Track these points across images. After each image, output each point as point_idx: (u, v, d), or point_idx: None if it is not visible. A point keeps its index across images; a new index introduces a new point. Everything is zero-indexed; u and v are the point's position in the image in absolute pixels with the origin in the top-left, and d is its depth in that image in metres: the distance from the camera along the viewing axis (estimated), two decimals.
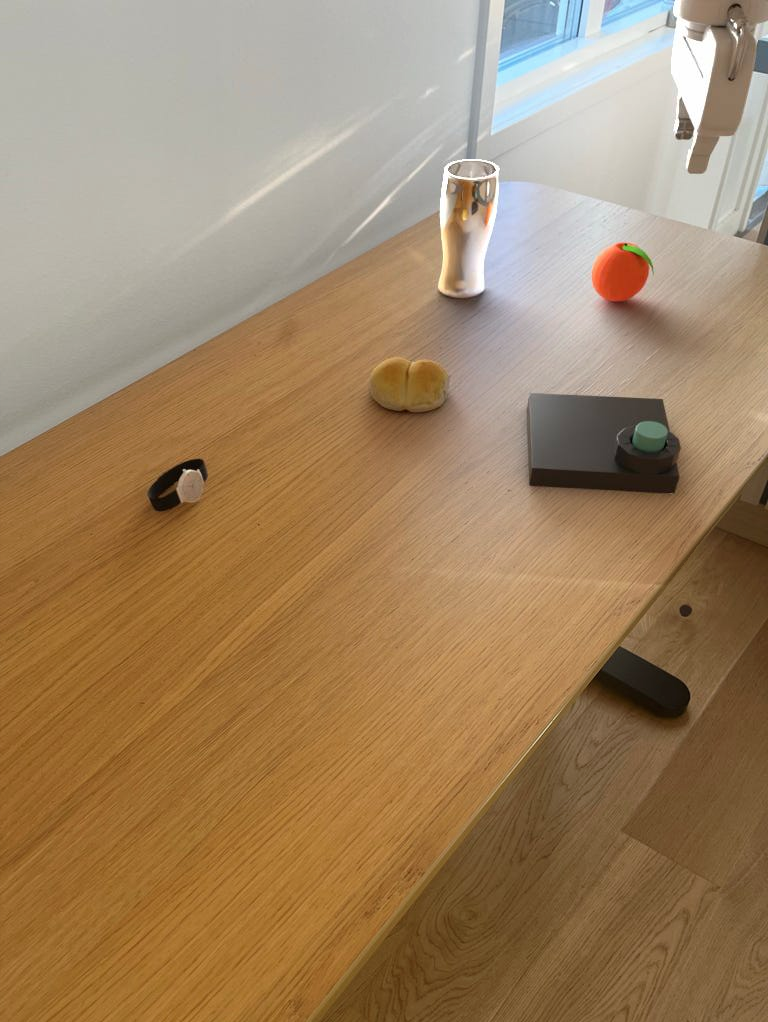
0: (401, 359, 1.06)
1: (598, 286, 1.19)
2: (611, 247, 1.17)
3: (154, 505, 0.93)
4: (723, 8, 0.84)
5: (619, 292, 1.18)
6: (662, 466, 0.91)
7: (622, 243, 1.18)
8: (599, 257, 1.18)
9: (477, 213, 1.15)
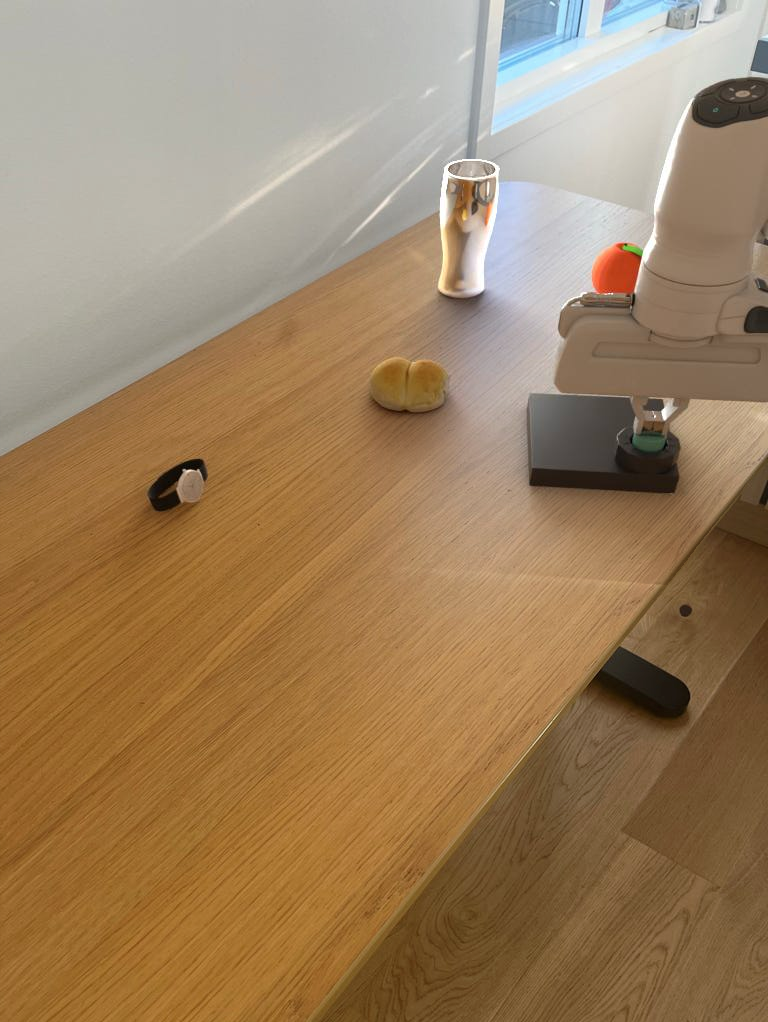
0: (401, 359, 1.06)
1: (598, 286, 1.19)
2: (611, 247, 1.17)
3: (154, 505, 0.93)
4: (634, 292, 0.83)
5: (619, 292, 1.18)
6: (662, 466, 0.91)
7: (622, 243, 1.18)
8: (599, 257, 1.18)
9: (477, 213, 1.15)
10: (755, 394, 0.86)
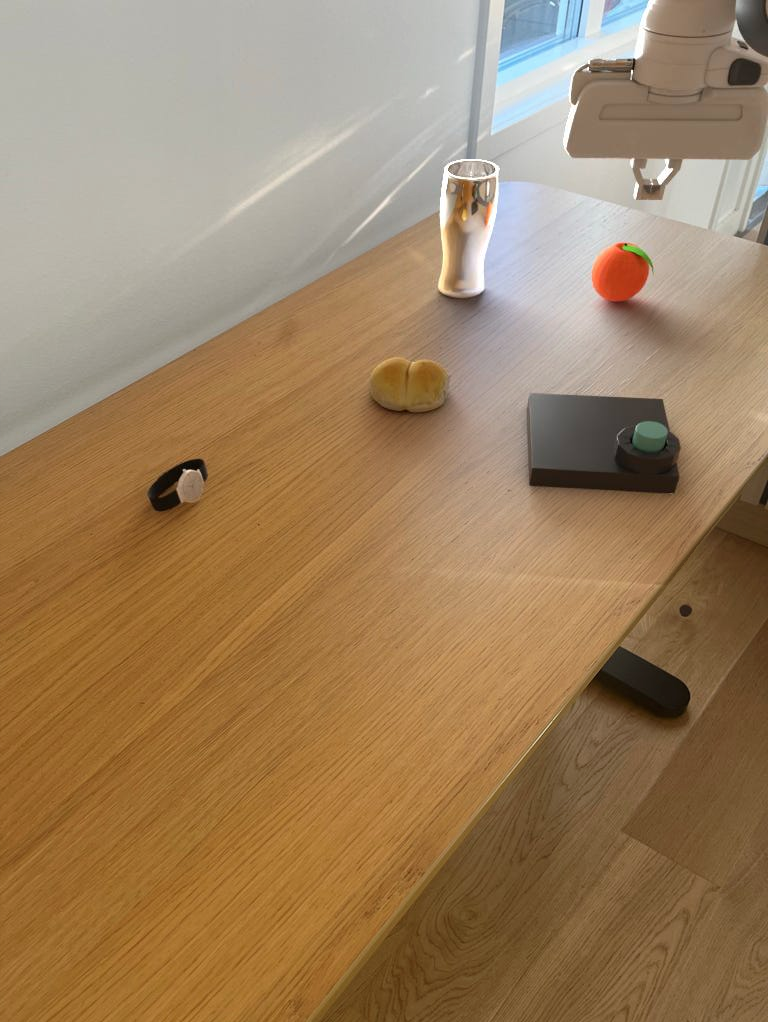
0: (401, 359, 1.06)
1: (598, 286, 1.19)
2: (611, 247, 1.17)
3: (154, 505, 0.93)
4: None
5: (619, 292, 1.18)
6: (662, 466, 0.91)
7: (622, 243, 1.18)
8: (599, 257, 1.18)
9: (477, 213, 1.15)
10: (738, 151, 1.00)
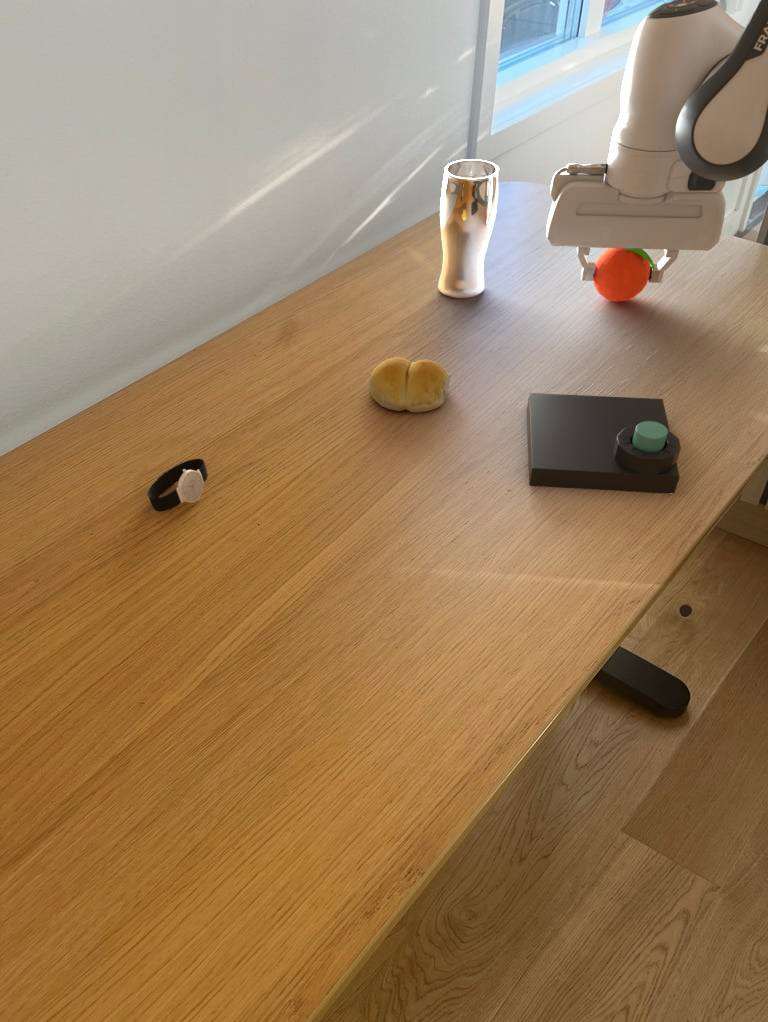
0: (401, 359, 1.06)
1: (599, 286, 1.19)
2: None
3: (154, 505, 0.93)
4: None
5: (621, 292, 1.18)
6: (662, 466, 0.91)
7: None
8: (601, 257, 1.18)
9: (477, 213, 1.15)
10: (699, 243, 1.13)
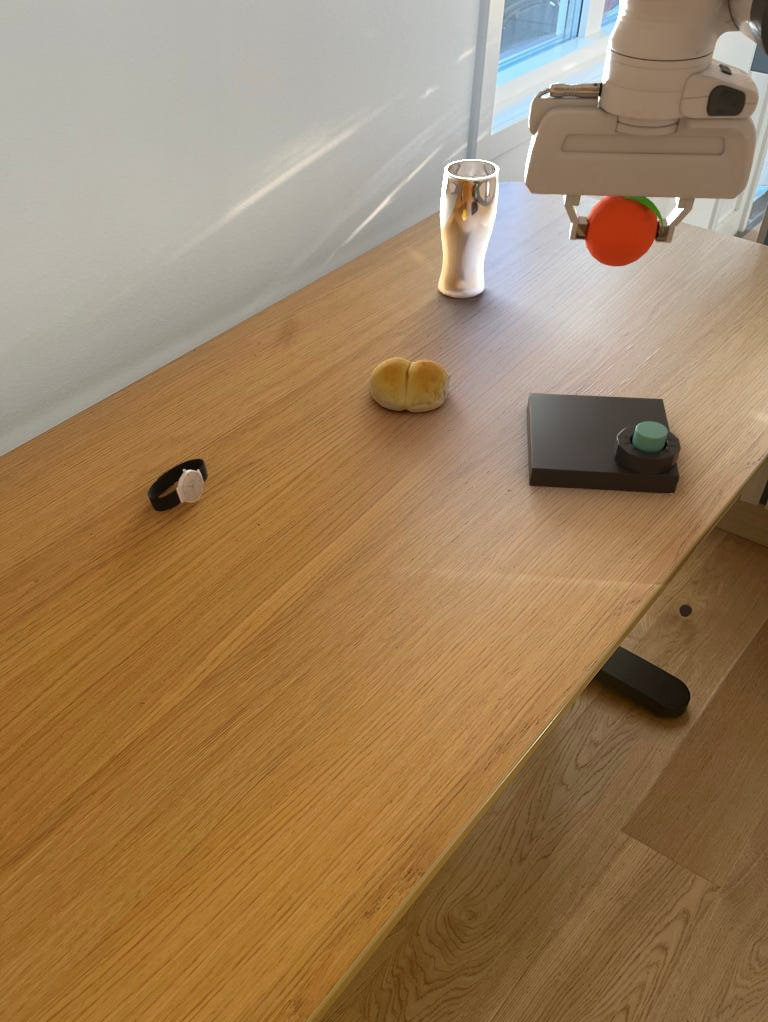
0: (401, 359, 1.06)
1: (592, 247, 0.93)
2: (609, 196, 0.92)
3: (154, 505, 0.93)
4: None
5: (619, 253, 0.92)
6: (662, 466, 0.91)
7: None
8: (594, 209, 0.92)
9: (477, 213, 1.15)
10: (721, 189, 0.87)
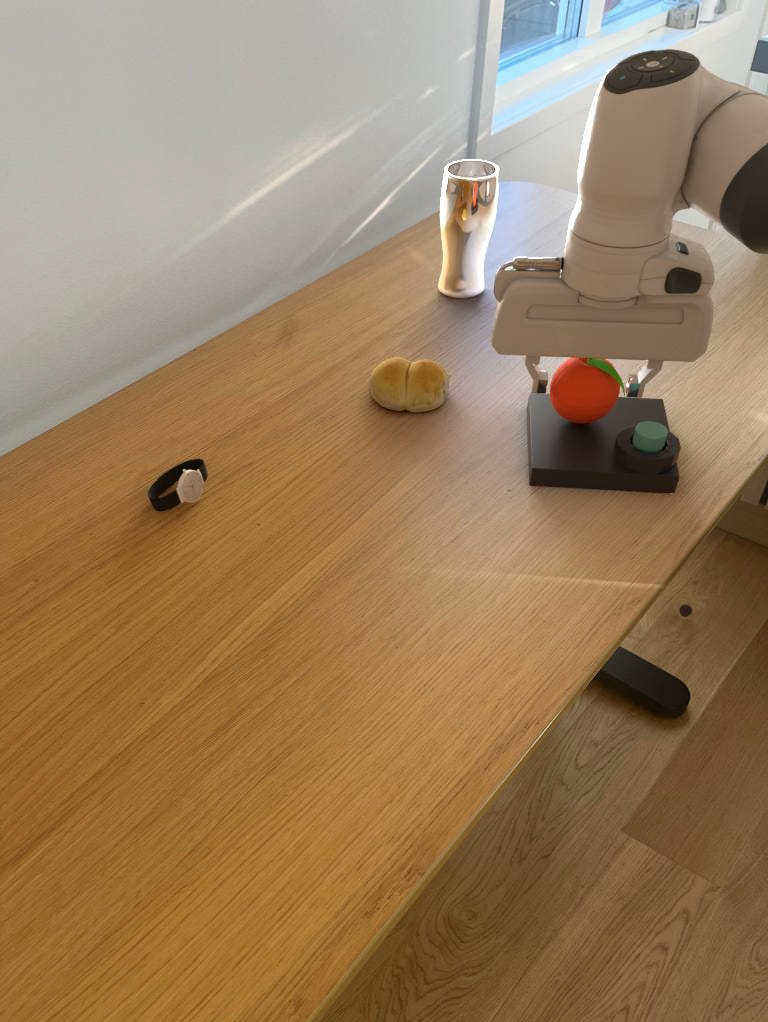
0: (401, 359, 1.06)
1: (557, 407, 0.96)
2: (573, 360, 0.95)
3: (154, 505, 0.93)
4: None
5: (583, 415, 0.95)
6: (662, 466, 0.91)
7: None
8: (558, 371, 0.96)
9: (477, 213, 1.15)
10: (681, 354, 0.90)
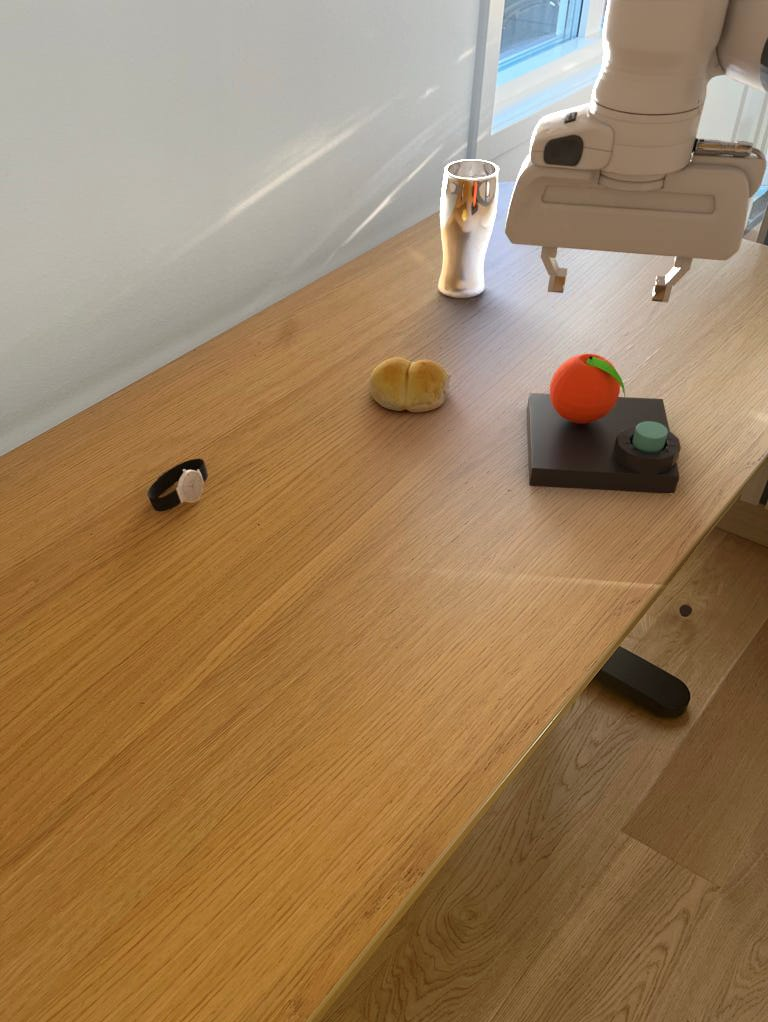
0: (401, 359, 1.06)
1: (557, 407, 0.96)
2: (573, 360, 0.95)
3: (154, 505, 0.93)
4: (692, 146, 0.77)
5: (583, 415, 0.95)
6: (662, 466, 0.91)
7: (587, 355, 0.95)
8: (558, 371, 0.96)
9: (477, 213, 1.15)
10: None
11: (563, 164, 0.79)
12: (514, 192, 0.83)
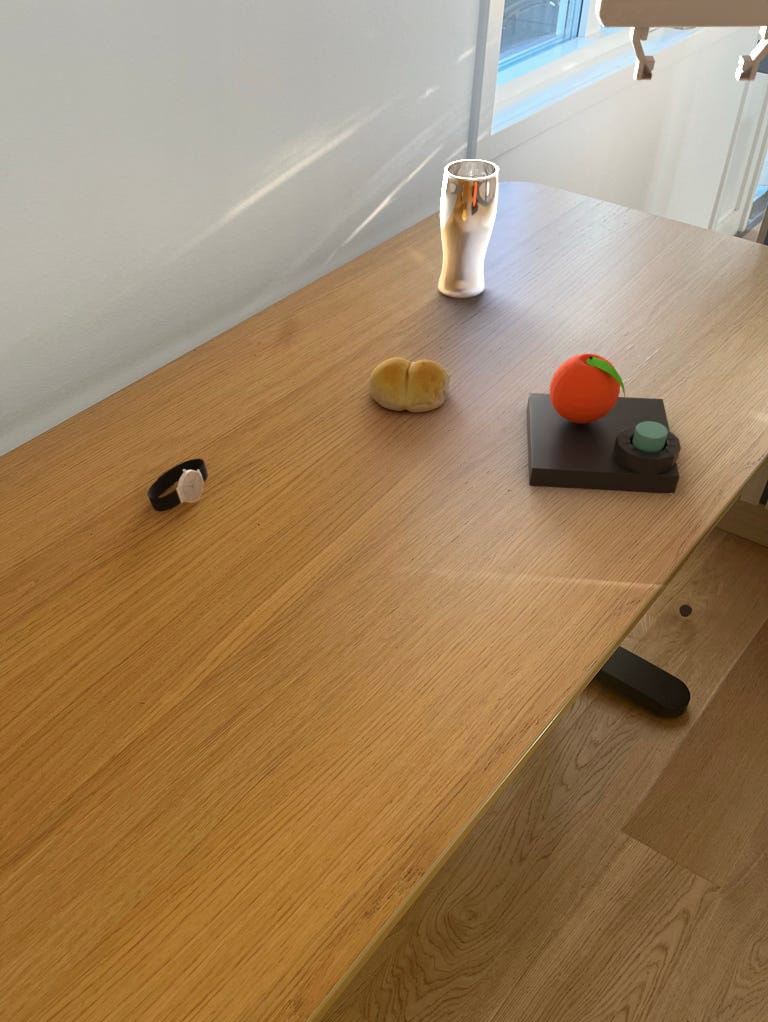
0: (401, 359, 1.06)
1: (557, 407, 0.96)
2: (573, 360, 0.95)
3: (154, 505, 0.93)
4: None
5: (583, 415, 0.95)
6: (662, 466, 0.91)
7: (587, 355, 0.95)
8: (558, 371, 0.96)
9: (477, 213, 1.15)
10: None
11: None
12: None
